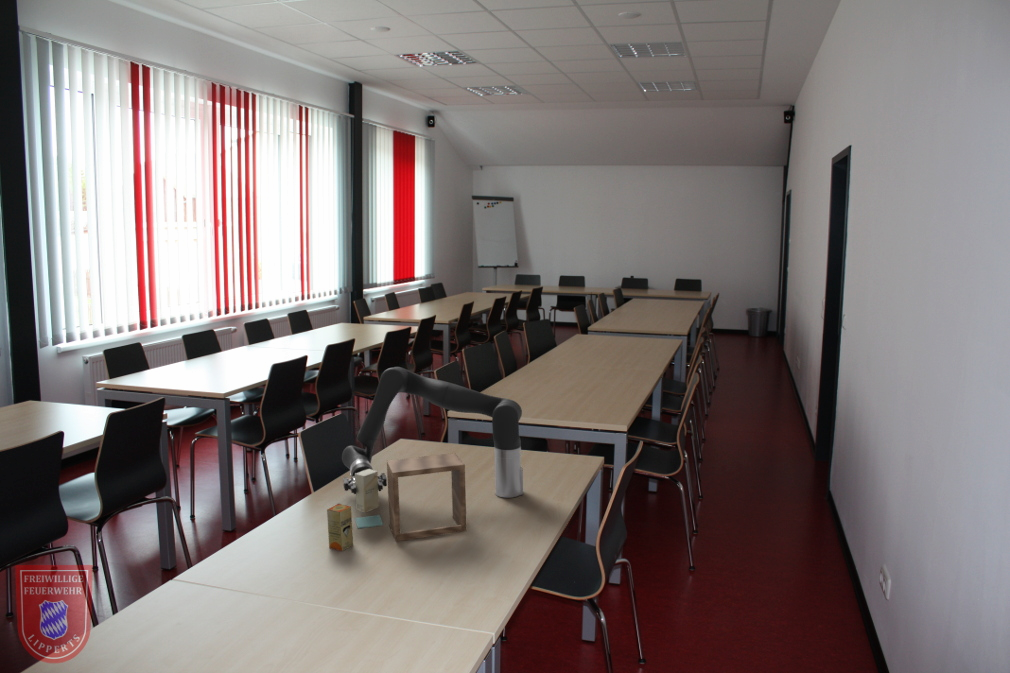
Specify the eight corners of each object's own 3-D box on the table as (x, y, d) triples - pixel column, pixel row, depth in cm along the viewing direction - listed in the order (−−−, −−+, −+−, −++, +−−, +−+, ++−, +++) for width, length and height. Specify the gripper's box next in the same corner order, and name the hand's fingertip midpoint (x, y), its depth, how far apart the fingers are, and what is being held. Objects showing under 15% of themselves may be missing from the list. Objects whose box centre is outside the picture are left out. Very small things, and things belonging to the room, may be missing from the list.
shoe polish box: (329, 547, 215) (327, 509, 214) (340, 541, 220) (338, 503, 218) (342, 551, 213) (340, 512, 211) (353, 544, 217) (351, 506, 216)
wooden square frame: (457, 516, 237) (455, 452, 234) (466, 531, 226) (464, 464, 222) (389, 525, 230) (386, 460, 227) (395, 541, 219) (392, 472, 216)
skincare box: (364, 513, 229) (363, 476, 227) (355, 509, 232) (353, 473, 230) (379, 506, 234) (378, 470, 232) (370, 503, 237) (368, 468, 235)
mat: (379, 516, 238) (379, 514, 238) (383, 525, 231) (383, 524, 231) (355, 519, 236) (355, 518, 236) (357, 528, 229) (357, 527, 228)
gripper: (339, 464, 243) (344, 481, 227) (382, 459, 247) (389, 476, 231) (340, 485, 244) (345, 503, 228) (383, 480, 248) (390, 498, 232)
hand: (367, 489), depth 230 cm, fingers closed on skincare box, 7 cm apart
